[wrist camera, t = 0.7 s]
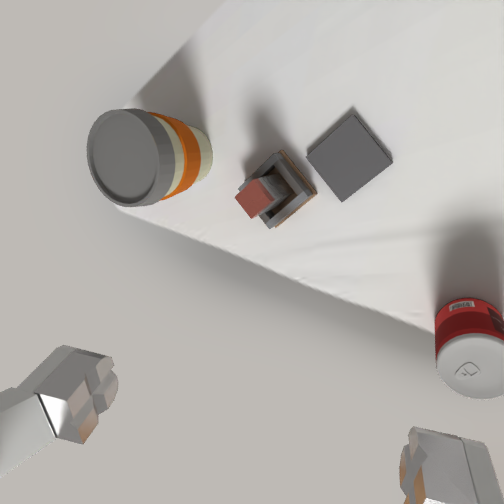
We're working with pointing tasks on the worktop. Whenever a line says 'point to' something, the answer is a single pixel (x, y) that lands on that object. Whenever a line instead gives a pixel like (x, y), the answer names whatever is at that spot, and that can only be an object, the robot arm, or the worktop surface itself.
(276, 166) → the square open tray
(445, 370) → the canned food
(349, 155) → the rubber pad
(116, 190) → the reusable coffee cup
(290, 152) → the worktop surface
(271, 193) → the steel peg
